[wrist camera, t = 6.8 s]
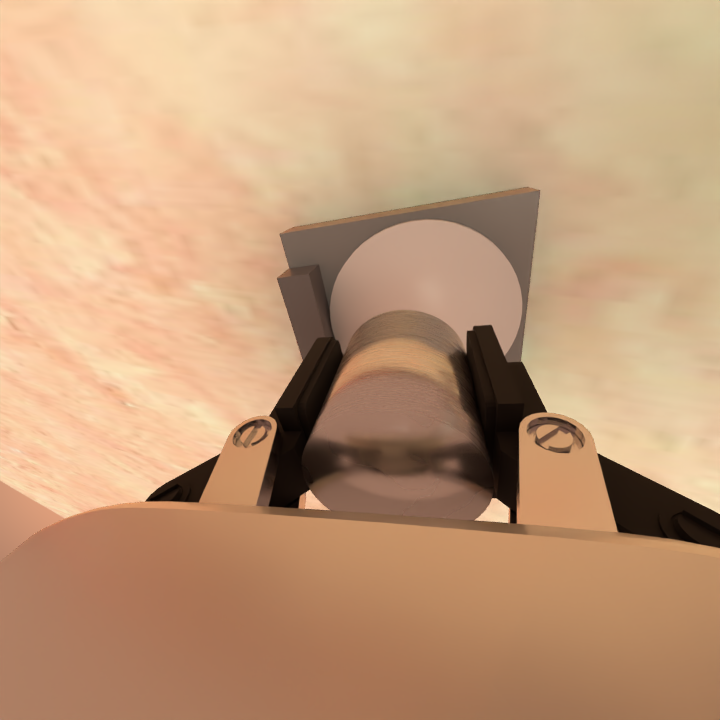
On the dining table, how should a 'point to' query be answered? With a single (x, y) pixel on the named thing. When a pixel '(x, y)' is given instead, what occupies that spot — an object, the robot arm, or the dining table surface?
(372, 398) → the cylinder
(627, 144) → the dining table surface
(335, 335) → the scale
